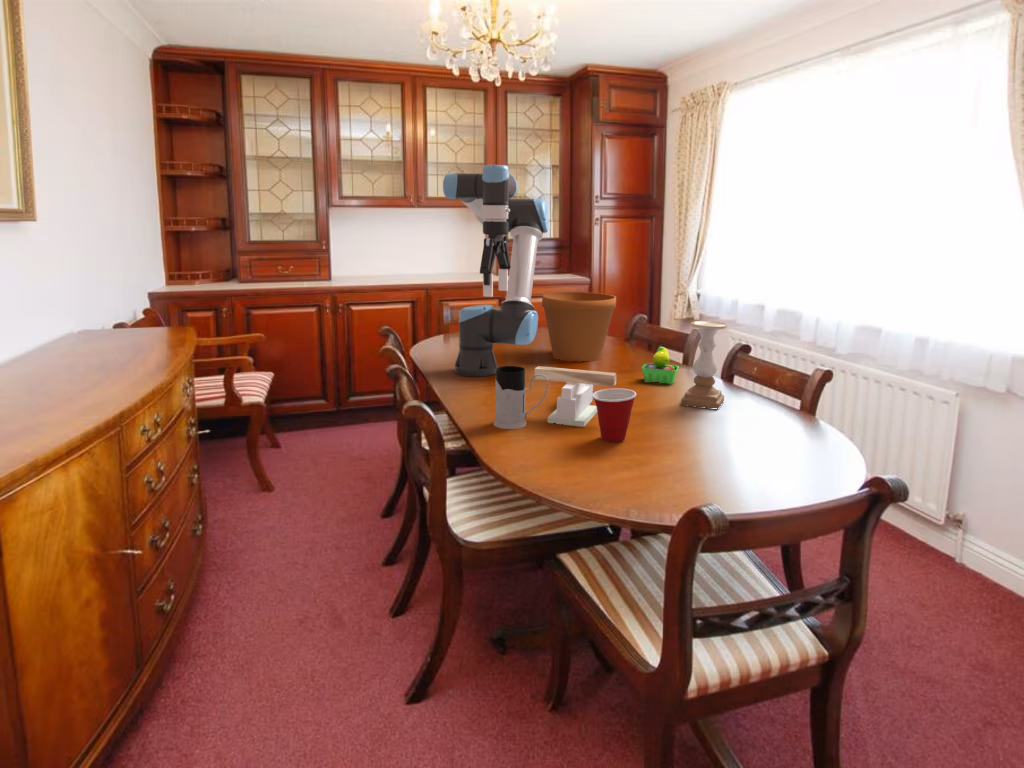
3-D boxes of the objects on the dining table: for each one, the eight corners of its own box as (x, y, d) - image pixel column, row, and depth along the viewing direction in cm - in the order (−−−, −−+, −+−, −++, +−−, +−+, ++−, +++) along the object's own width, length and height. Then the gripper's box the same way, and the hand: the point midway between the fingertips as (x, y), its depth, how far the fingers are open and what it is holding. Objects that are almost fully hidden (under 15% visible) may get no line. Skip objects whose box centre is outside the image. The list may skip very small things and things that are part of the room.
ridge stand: (563, 407, 200) (564, 373, 197) (597, 411, 196) (599, 376, 194) (547, 422, 185) (548, 386, 183) (583, 427, 182) (585, 390, 179)
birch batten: (538, 376, 193) (538, 366, 193) (615, 384, 186) (616, 373, 185) (534, 379, 191) (534, 368, 190) (613, 386, 183) (614, 375, 183)
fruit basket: (639, 382, 230) (641, 349, 227) (645, 376, 238) (647, 344, 235) (674, 386, 226) (677, 352, 223) (679, 380, 234) (681, 347, 231)
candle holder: (724, 401, 208) (731, 322, 202) (718, 410, 199) (725, 327, 193) (687, 396, 213) (693, 319, 207) (680, 405, 203) (685, 324, 197)
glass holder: (494, 419, 188) (494, 365, 184) (546, 420, 188) (548, 365, 184) (492, 428, 180) (492, 372, 176) (547, 429, 179) (548, 373, 175)
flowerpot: (536, 362, 258) (537, 299, 252) (545, 348, 285) (546, 291, 279) (612, 366, 254) (615, 302, 248) (614, 351, 281) (616, 293, 275)
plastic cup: (586, 432, 177) (588, 387, 174) (628, 431, 178) (630, 386, 175) (594, 446, 167) (596, 398, 164) (639, 445, 168) (641, 398, 165)
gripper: (493, 222, 189) (493, 299, 195) (520, 219, 212) (520, 288, 218) (467, 221, 191) (468, 298, 197) (497, 219, 214) (497, 287, 220)
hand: (495, 293), depth 207 cm, fingers open, 13 cm apart
